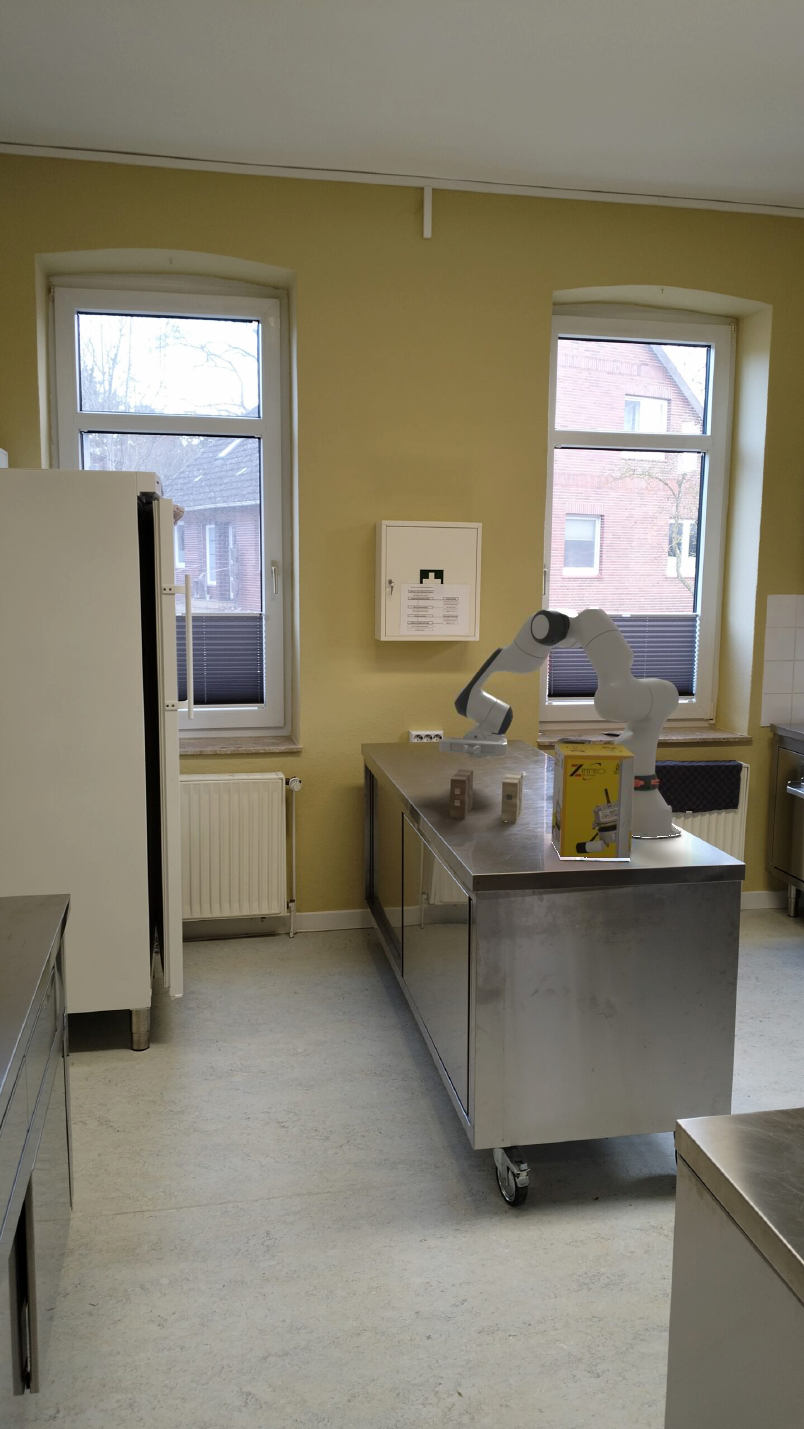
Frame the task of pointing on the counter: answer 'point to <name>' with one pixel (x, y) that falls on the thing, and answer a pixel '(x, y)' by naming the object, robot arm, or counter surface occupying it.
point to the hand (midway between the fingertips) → (469, 751)
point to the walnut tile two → (461, 794)
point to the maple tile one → (511, 797)
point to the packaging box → (593, 800)
